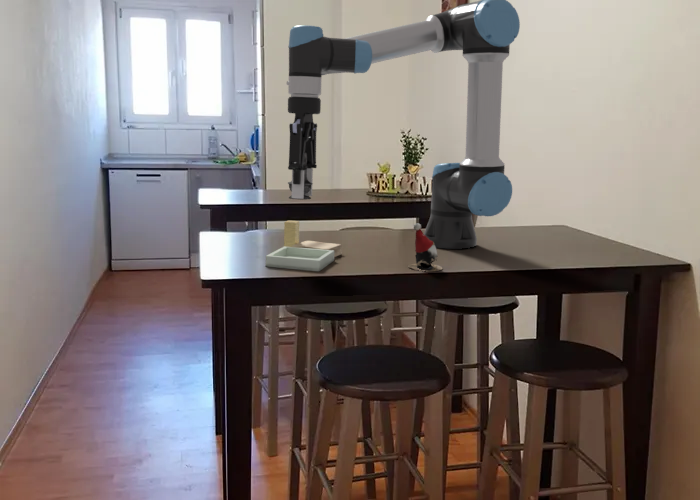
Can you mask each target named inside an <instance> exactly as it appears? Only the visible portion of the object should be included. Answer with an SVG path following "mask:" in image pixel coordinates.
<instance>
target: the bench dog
mask: <svg viewBox="0 0 700 500" xmlns="http://www.w3.org/2000/svg"><path fill="white" fill-rule="evenodd" d="M283 223H284V226H283V227H284V229H283V230H284V231H283V236H284V237H283V247H284V246H286V247H292V245H294V244H297V243H300V220H287V221H284V222H283Z"/></svg>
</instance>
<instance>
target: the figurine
mask: <svg viewBox="0 0 700 500" xmlns="http://www.w3.org/2000/svg"><path fill="white" fill-rule="evenodd" d="M413 230H415V240H414V242H415V243H414V245H415V246H414V247H415V248H414V249H415V250H414V251H415V255H414V256H415V262H416V263H413V264H412V263H411V264H408V266H407V268H408V267H412V268H415V267H417V268H419V269H421V270H425V271H426V272H427V273H428V272H431V273H432V272H437V271H441V270H443V266H441V265H438V264H432V263H434V262H436V261H437V259H438V255H439V254H438V251H437V247H435V245H434V242H433V241H430V240H429V239H428V238H427V237H426V236H425V235H424V233H423V231H422V224H420V223H415V224H414V225H413ZM423 265H424V266H426V267H424V266H423ZM433 266H434V267H433ZM421 270H419V271H418V272H422V271H421ZM423 272H424V271H423ZM423 272H422V273H423ZM426 272H425V273H426Z"/></svg>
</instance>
